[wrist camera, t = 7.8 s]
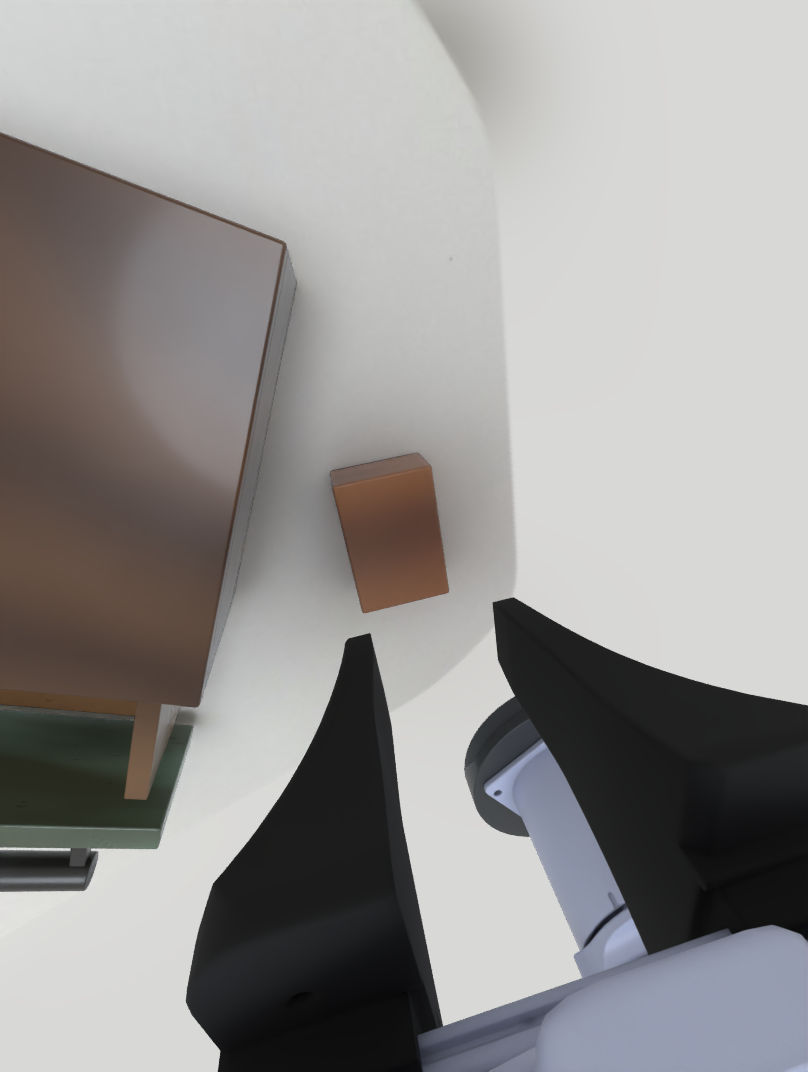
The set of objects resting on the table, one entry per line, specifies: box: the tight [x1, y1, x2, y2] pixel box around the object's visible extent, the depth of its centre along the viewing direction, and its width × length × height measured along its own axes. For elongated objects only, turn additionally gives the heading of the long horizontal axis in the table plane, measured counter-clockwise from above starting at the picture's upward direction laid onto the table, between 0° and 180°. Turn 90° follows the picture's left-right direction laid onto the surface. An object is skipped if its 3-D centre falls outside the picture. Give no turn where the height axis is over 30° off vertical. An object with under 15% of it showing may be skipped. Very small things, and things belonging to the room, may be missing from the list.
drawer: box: [0, 689, 193, 892], centre depth 18 cm, size 17×10×5 cm, turn 162°
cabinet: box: [0, 132, 297, 707], centre depth 14 cm, size 14×12×7 cm
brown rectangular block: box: [330, 453, 449, 613], centre depth 20 cm, size 6×4×2 cm, turn 10°
